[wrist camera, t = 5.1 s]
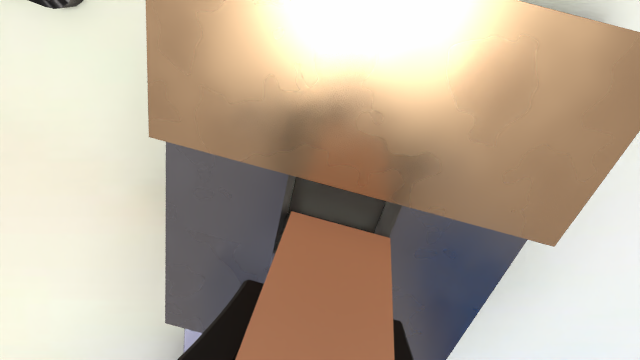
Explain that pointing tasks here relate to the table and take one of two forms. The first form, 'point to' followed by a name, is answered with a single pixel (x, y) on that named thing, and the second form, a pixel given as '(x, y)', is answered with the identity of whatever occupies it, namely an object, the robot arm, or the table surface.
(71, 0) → the phone
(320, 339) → the light brown rectangular block
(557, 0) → the table surface
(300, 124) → the bracket plate
